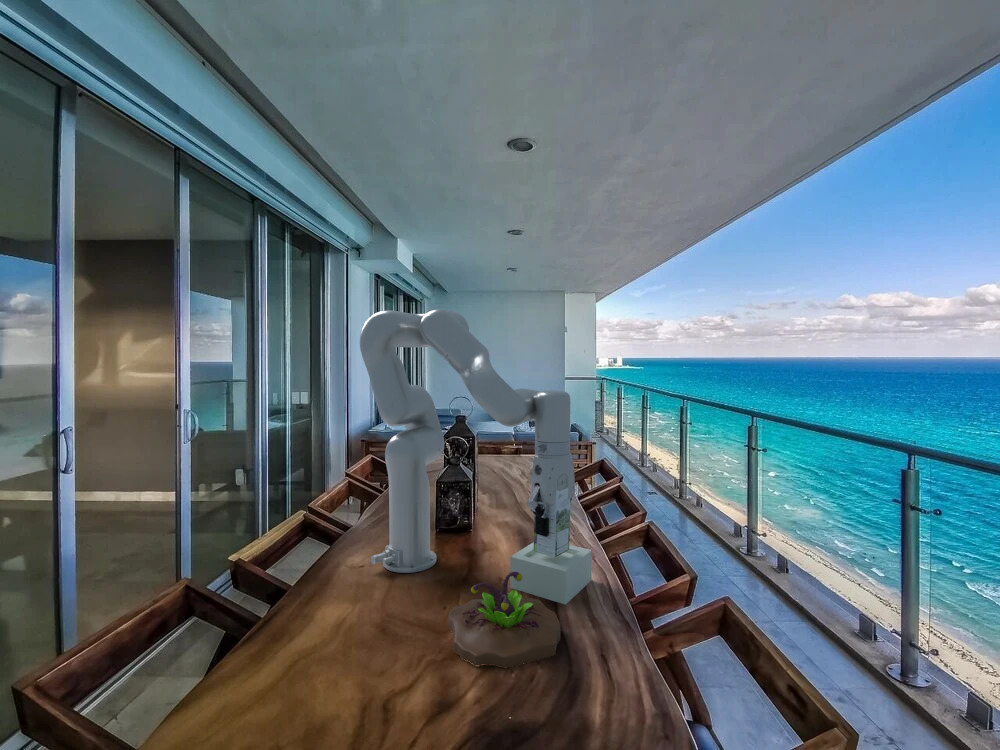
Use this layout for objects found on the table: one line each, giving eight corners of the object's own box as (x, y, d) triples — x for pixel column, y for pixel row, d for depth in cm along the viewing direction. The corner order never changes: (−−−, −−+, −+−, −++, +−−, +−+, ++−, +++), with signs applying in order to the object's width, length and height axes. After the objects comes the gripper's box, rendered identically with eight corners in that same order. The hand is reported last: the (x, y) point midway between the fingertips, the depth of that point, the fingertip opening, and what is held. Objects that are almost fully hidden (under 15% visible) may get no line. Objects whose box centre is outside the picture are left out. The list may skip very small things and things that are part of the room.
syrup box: (547, 544, 112) (548, 480, 112) (570, 550, 109) (571, 484, 108) (533, 551, 108) (533, 485, 107) (556, 558, 104) (556, 489, 104)
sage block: (565, 605, 100) (565, 571, 99) (510, 589, 107) (510, 556, 107) (591, 581, 111) (591, 550, 110) (539, 567, 118) (539, 538, 117)
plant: (576, 661, 82) (577, 594, 81) (457, 676, 78) (457, 606, 77) (542, 602, 101) (542, 547, 101) (445, 611, 97) (445, 555, 97)
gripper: (540, 456, 99) (539, 546, 99) (589, 445, 111) (589, 525, 112) (512, 451, 104) (512, 537, 105) (562, 441, 116) (562, 517, 117)
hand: (551, 530), depth 108 cm, fingers closed on syrup box, 6 cm apart
